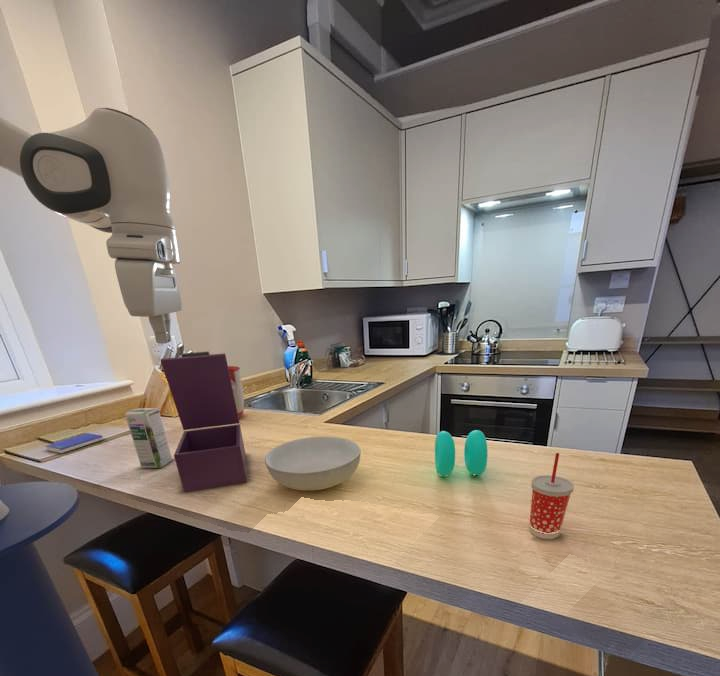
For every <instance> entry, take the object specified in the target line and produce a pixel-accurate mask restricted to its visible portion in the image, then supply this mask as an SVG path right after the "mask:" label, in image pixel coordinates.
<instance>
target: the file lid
mask: <svg viewBox="0 0 720 676" xmlns="http://www.w3.org/2000/svg"><path fill="white" fill-rule="evenodd" d="M160 364H161V366H162V369H163V373H164V375H165V379H166V381H167V385H168V389H169V391H170V394H171V396H172V400H173V403H174V405H175V408H176V411H177V415H178V417H179V421H180V422H181V423H180V424H181V427H182V430H183V431H190V430H198V429H206V428H214V427H222V426H230V425H238V424H240V423H241V422H240V418H239V417H238V412H237V407H236V403H235V398H234V393H233V388H232V384H231V379H230V374H229V369H228V366H229V364H228V361H227V356H226V353H224V352H223V353H214V354H210V351H197V352H185V353H181V356H179V357H178V356H177V357H166V358H160Z"/></svg>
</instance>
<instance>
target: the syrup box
mask: <svg viewBox="0 0 720 676" xmlns="http://www.w3.org/2000/svg"><path fill="white" fill-rule="evenodd" d="M124 417H125V420H126V423H127V426H128V429H129V432H130V435H131V438H132V441H133V444H134V448H135V452H136V454H137V459H138V461H139V465H140V468H141V469H145V468H147V469H161V468H163V467H164V466H166V465H168V464H169V463H170V462H171V461H173V457H172V452H171V448H170V446H169V441H168V438H167V434H166V431H165V427H164V424H163V423H164V422H163V418H162V415H161V412H160V409H159V407H146V408H145V407H144V408H142V407H138V408H134V409H131V410H129V411H127V412H126V413H124Z"/></svg>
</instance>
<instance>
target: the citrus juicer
mask: <svg viewBox="0 0 720 676" xmlns="http://www.w3.org/2000/svg"><path fill="white" fill-rule="evenodd" d="M228 369H229V374H230V379H231V384H232V388H233V393H234V398H235V403H236V407H237V412H238V417H239V419H241V418H242V417H243V416H244V407H245V395H244V388H243V382H242V377H241V371H240V369H241V367H239V366H236V365H228Z"/></svg>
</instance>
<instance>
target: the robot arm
mask: <svg viewBox="0 0 720 676" xmlns="http://www.w3.org/2000/svg"><path fill="white" fill-rule="evenodd" d="M0 167H1V168H3V169H5V170H6V171H9V172H10V173H12V174H14V175H16V176H18V177H20V178H22V179H23V181H24V184H25V185H26V187H27V189H28V191H29V192H30V193H31V195H32V196H33V197H34V198H35V199H36V200H37V201H38V202H39V203H40V204H41V205H43V206H44V207H45V208H47V209H48V210H50V211H52V212H54V213H55V214H57V215H60V216H62V217H65V218H68V219H70V220H73V221H76V222H77V223H81V224H85V225H88V226H89V227H92V228H94V229H95V230H97V231H100V232H103V233H108V234H111V236H110V237H108V238H107V239H106V241H105V245H106V249H107V254H108V256H109V257H110V258H111V259H114V269H115V274H116V275H115V276H116V278H117V283H118V287H119V290H120V293H121V294H120V295H121V297H122V300H123V304H124V306H125V308H126V311H127V312H128V314H129V315H130V316H131V317H143V318H144V317H147V318H148V321H149V324H150V326H151V329H152V331H153V333H154V338H155V342H156V343H157V344H159V345H161V344H163V345H165V344H168V343H170V342H171V341H172V335H171V334H172V333H171V321H172V320H171V313H172V314H173V313H176V312H177V313H178V312H181V311H182V298H181V292H180V287H179V282H178V277H177V273H176V270H175V268H174V267H173V265H179V264H181V259H180V251H179V245H178V237H177V230H176V225H175V223H174V220H173V218H172V213H171V198H172V197H171V189H170V183H169V176H168V172H167V167H166V162H165V157H164V154H163V150H162V147H161V143H160V141H159V138H158V137H157V135H156V134H155V133H154V131H152V129H151V128H150V127H149V126H148V125H147V124H145V123H144V121H142V120H141V119H139V118H136V117H134V115H131V114H129V113H127V112H124V111H122V110H119V109H115V108H110V107H98V108H95V109H94V110H93V111H92V112H91V113H90V114H89V116H88V117H87V118H86V119H84V120H83V121H81V122H80V123H77V124H76V125H73V126H71V127H68V128H65V129H62V130H57V131H52V132H39V133H38V132H37V133H34V134H31V133H29V132H27V131H25V130H24V129H22V128H20V127H19V126H17V125H15V124H13V123H11V121H10V122H9V121H8V120H6V119H5V118H3V117H1V116H0ZM8 513H9V508H8V507H7V506H6V505H5V504H4V503H3V502H2V501H1V500H0V520H2V519H3V518H4V517H5V516H6V515H7V514H8Z"/></svg>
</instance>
